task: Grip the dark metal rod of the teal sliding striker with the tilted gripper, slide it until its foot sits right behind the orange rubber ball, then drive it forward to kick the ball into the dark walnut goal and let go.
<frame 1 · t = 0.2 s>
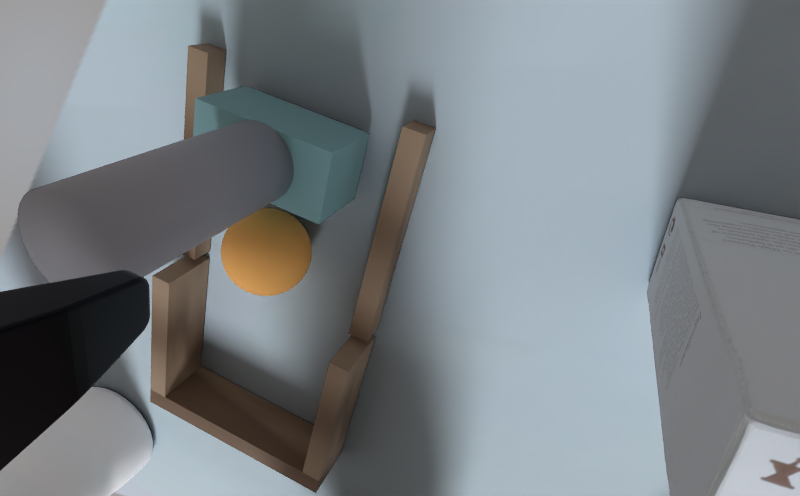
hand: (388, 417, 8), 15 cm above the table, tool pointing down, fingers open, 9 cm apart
water bottle: (121, 420, 39), on the table
striker: (213, 181, 19), point 6 cm above the table, slide at 0.0 cm
ball: (267, 251, 25), point 2 cm above the table
skincare box: (753, 259, 19), on the table
goal: (270, 355, 30), on the table
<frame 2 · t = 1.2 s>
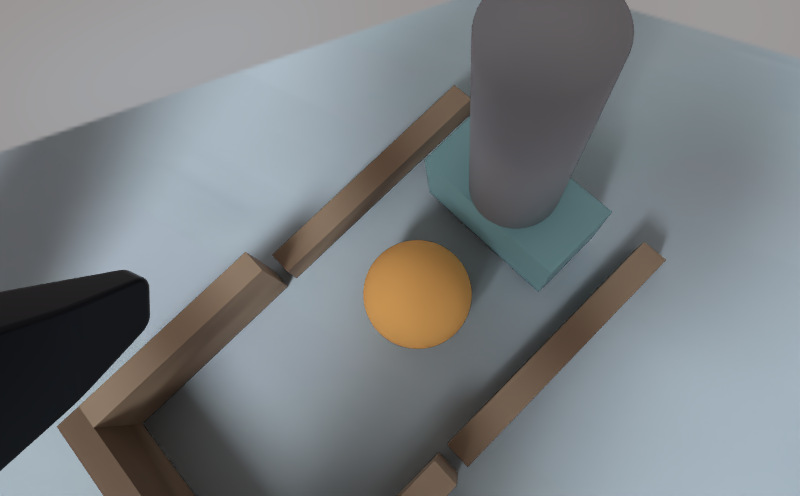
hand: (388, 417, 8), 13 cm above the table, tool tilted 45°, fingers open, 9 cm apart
striker: (522, 153, 16), point 6 cm above the table, slide at 0.0 cm
ball: (417, 293, 20), point 2 cm above the table
goal: (275, 446, 21), on the table
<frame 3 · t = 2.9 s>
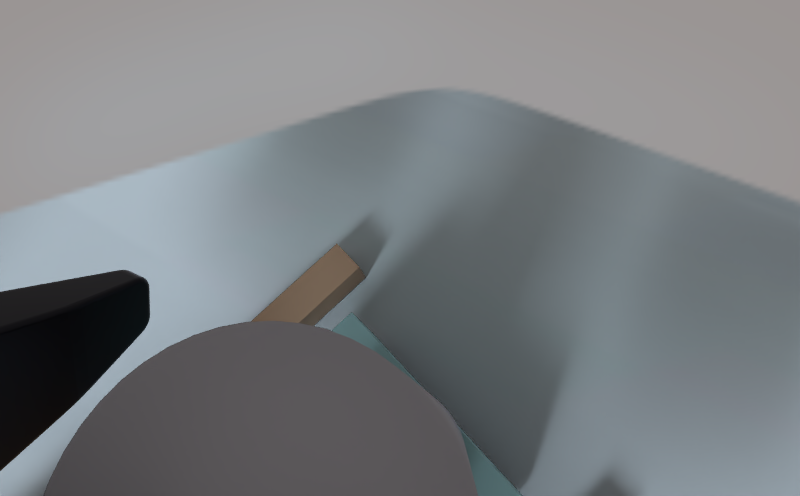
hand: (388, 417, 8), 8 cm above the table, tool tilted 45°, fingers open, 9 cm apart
striker: (374, 472, 9), point 6 cm above the table, slide at 0.0 cm
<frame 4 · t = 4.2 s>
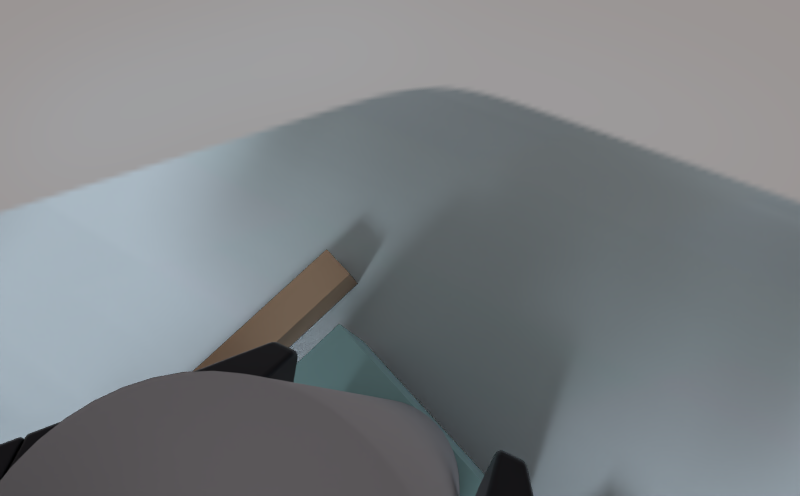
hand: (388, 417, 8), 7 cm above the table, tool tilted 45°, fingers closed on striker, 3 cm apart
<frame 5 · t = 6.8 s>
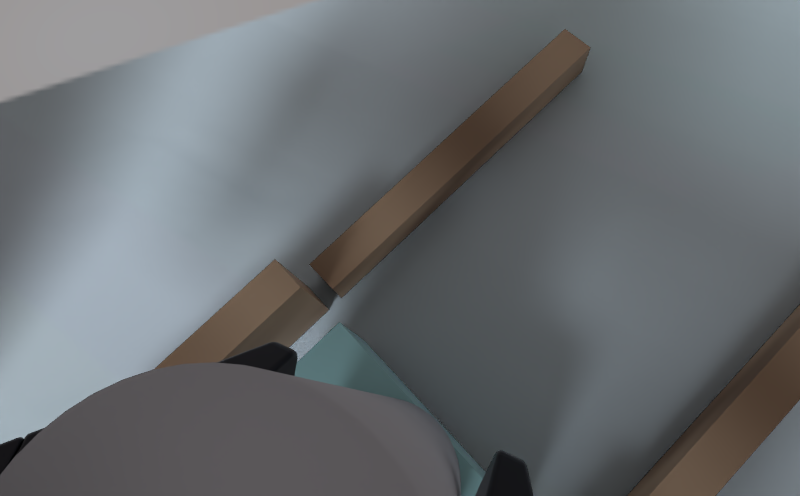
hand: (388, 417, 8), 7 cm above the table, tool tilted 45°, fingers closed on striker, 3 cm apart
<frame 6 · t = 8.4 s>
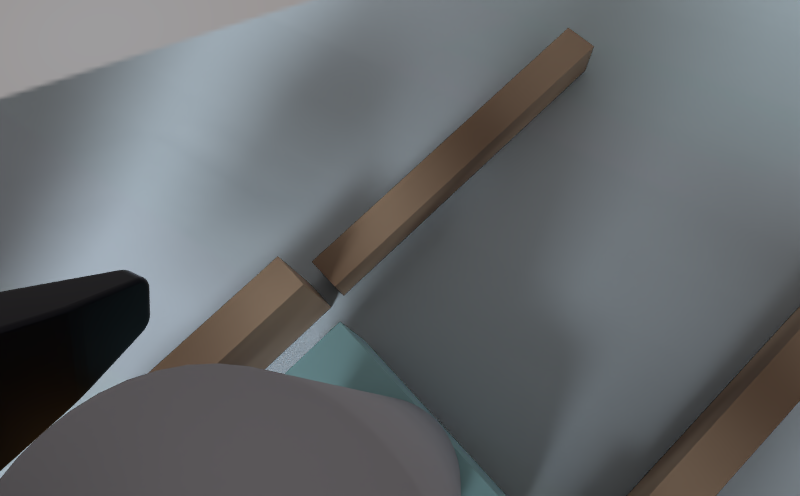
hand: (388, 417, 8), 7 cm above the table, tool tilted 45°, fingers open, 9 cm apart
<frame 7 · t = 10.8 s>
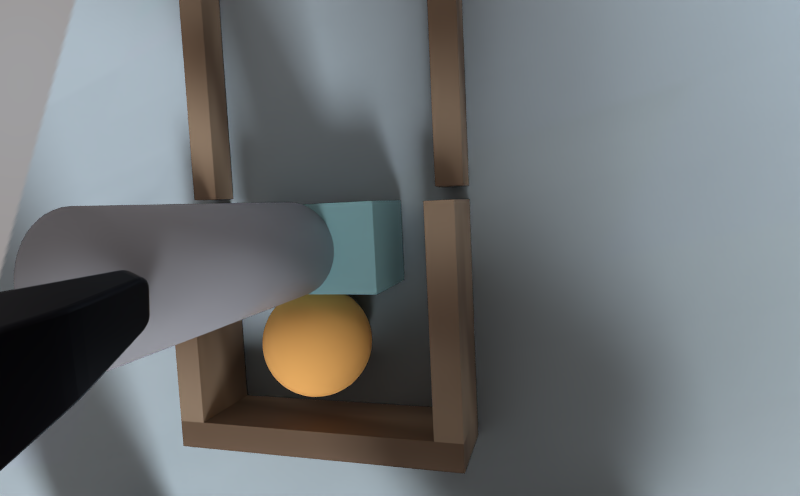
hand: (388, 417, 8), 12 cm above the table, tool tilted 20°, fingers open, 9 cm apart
striker: (247, 258, 16), point 6 cm above the table, slide at 9.9 cm
ball: (318, 340, 20), point 2 cm above the table, tilted 119°
goal: (338, 317, 22), on the table
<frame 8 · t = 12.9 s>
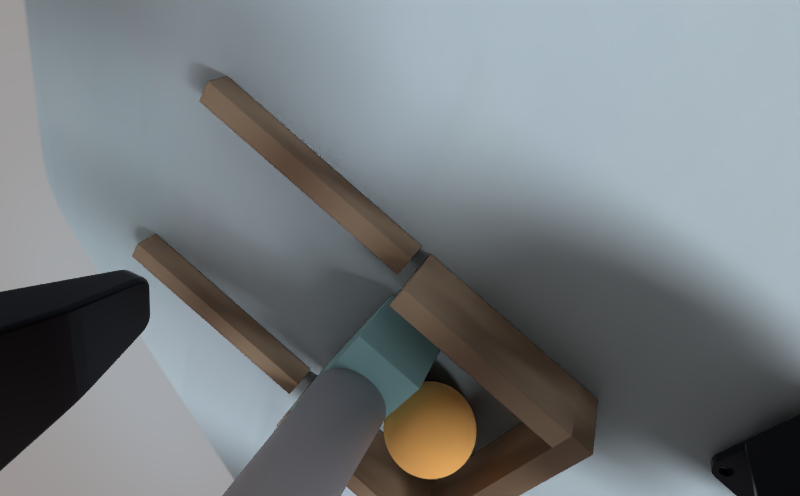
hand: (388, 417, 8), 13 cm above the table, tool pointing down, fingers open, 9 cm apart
striker: (318, 445, 20), point 6 cm above the table, slide at 9.9 cm
ball: (429, 428, 23), point 2 cm above the table, tilted 118°
goal: (435, 391, 25), on the table
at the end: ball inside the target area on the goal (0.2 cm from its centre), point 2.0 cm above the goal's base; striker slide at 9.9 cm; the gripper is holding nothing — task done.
